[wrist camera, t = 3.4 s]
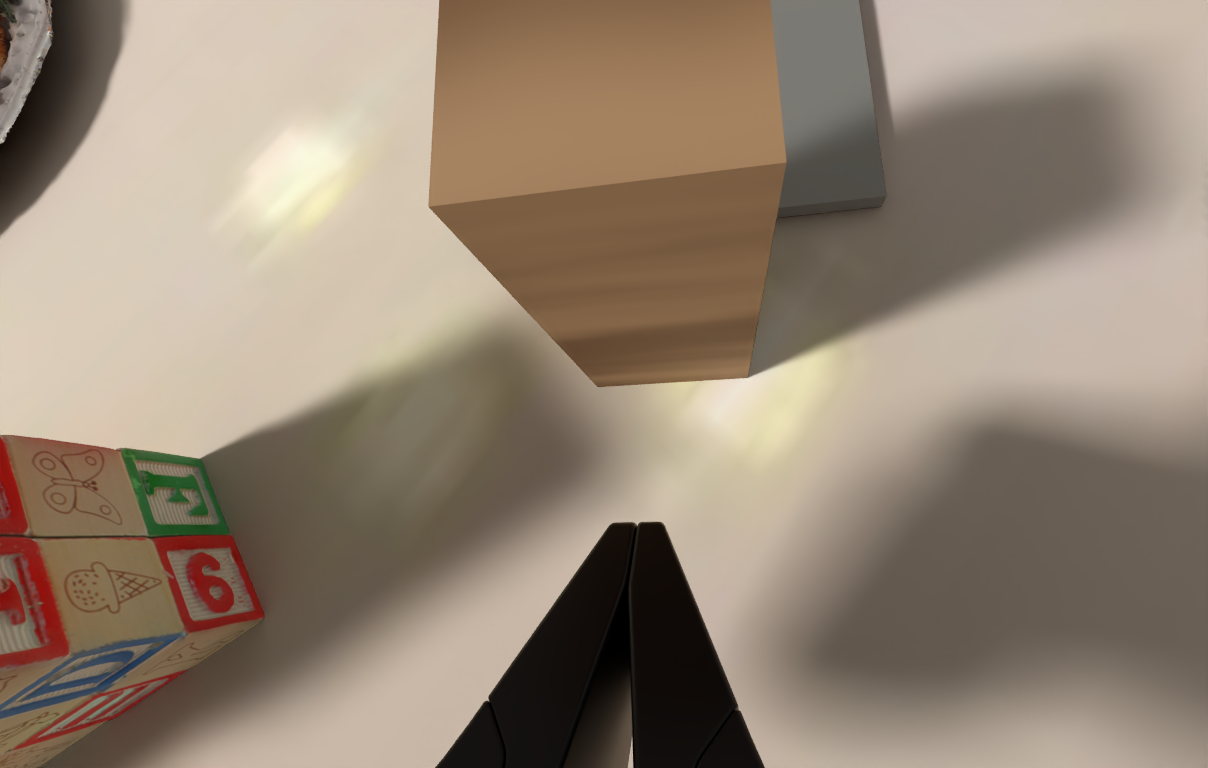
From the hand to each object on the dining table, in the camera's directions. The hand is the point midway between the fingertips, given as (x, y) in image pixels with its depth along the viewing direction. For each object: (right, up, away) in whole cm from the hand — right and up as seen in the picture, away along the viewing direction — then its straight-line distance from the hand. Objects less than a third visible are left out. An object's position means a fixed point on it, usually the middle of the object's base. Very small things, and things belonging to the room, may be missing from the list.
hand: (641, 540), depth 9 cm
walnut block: (+1, +5, +9) cm, 10 cm away
